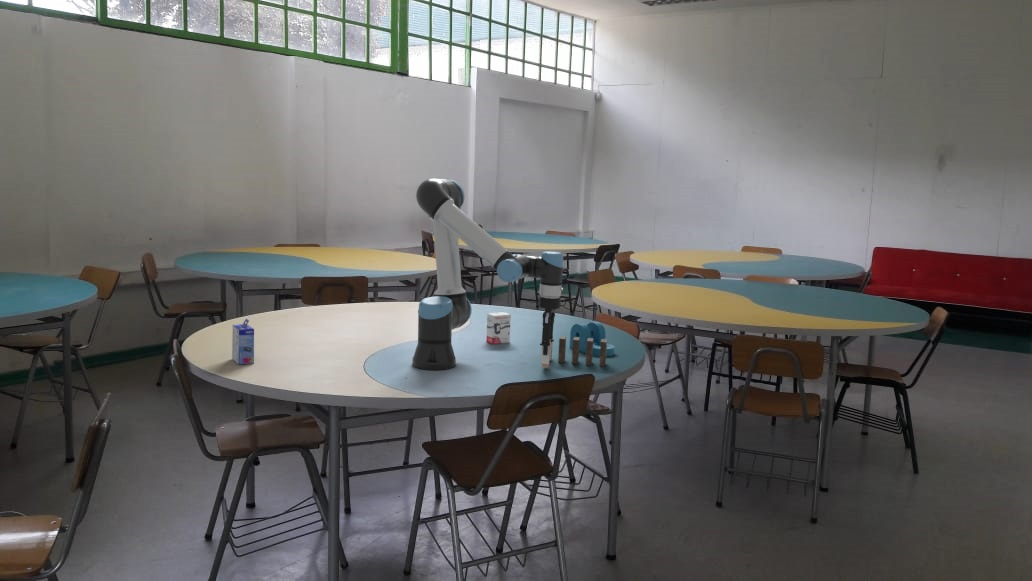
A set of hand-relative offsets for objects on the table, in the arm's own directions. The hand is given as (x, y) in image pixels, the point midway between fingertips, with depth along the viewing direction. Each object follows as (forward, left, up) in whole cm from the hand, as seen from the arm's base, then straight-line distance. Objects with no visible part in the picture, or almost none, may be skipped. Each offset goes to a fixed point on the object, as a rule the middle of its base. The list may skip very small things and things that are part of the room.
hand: (545, 361), depth 264 cm
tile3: (+13, +4, -3) cm, 14 cm away
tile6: (+21, -9, -3) cm, 23 cm away
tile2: (+10, +8, -3) cm, 13 cm away
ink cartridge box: (-77, +71, -3) cm, 104 cm away
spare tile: (0, 0, -1) cm, 1 cm away
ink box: (+16, +41, -3) cm, 44 cm away
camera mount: (+36, +7, -3) cm, 37 cm away
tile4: (+16, 0, -3) cm, 16 cm away
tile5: (+19, -5, -3) cm, 19 cm away
